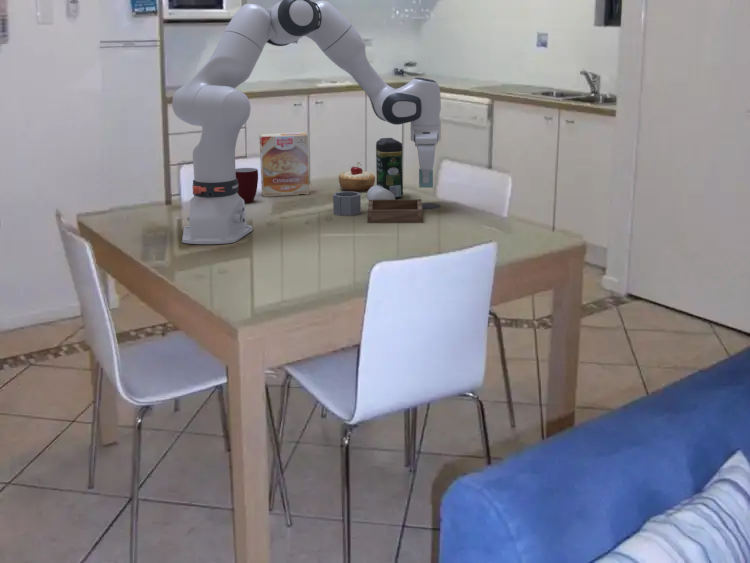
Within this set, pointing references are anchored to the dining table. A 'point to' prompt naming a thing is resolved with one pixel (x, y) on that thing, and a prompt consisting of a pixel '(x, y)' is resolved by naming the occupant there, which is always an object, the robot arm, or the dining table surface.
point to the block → (425, 185)
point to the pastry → (356, 180)
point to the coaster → (429, 206)
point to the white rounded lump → (379, 194)
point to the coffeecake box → (284, 164)
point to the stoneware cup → (347, 203)
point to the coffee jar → (389, 165)
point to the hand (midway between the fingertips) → (425, 180)
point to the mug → (247, 183)
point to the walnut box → (395, 211)
